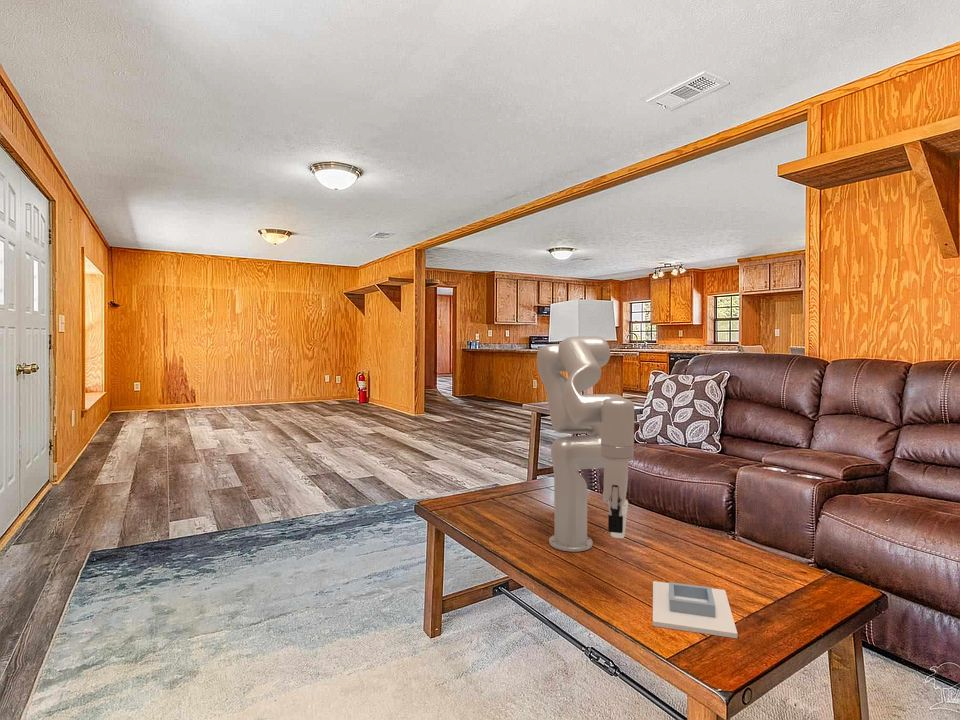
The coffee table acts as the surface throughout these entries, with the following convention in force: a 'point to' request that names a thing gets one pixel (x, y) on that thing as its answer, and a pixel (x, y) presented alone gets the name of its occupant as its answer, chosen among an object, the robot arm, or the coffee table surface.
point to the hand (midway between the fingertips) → (616, 527)
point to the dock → (692, 609)
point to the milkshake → (624, 513)
